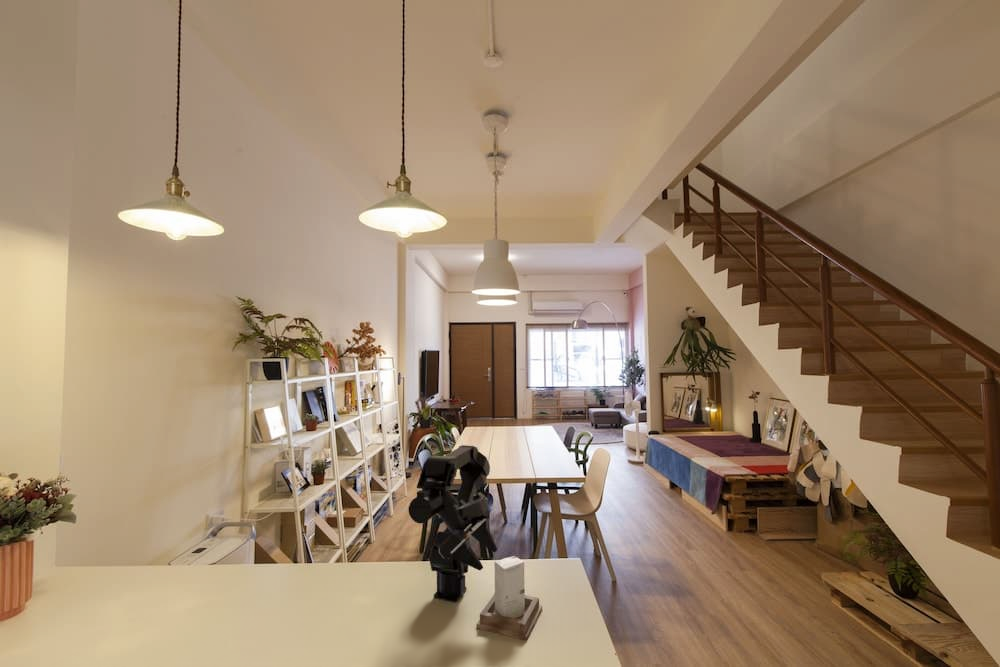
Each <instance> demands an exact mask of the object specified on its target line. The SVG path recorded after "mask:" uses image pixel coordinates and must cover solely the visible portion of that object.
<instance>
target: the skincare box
mask: <svg viewBox="0 0 1000 667" xmlns="http://www.w3.org/2000/svg"><path fill="white" fill-rule="evenodd" d="M494 594H495V614H497V615H501V616H505V617H509V618H514V619H515V618H517V617H520V616H522V615H524V614H525V595H526V594H525V561H524V560H522V559H520V558H519V557H517V556H516V555H513V556H508V557H504V558H502V559H500V560H496V561H494Z"/></svg>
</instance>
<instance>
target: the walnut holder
mask: <svg viewBox="0 0 1000 667" xmlns="http://www.w3.org/2000/svg"><path fill="white" fill-rule="evenodd" d="M542 610H543V605H541V604H540V598H539V597H536V596H532V595H526V594H525V614H524V615H522V616H520V617H517V618H515V619H514V618H509V617H505V616H501V615H497V614H495V593H493V595H492V596H491V598H490V599H489V600H488V602H487V604H485V606H484V607H483V609H482V610H481V612H480V613H479V620H477V623H476V628H477V629H481V630H484V631H489V632H493V633H497V634H500V635H504V636H509V637H513V638H517V639H521V640H525V641H527V640H528V639H529V637H530V635H531V633H532V631H533V628H534V627H535V625H536V622H537V620H538V619H539V617H540V614H541V612H542Z"/></svg>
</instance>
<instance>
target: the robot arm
mask: <svg viewBox="0 0 1000 667" xmlns="http://www.w3.org/2000/svg"><path fill="white" fill-rule="evenodd" d="M458 470H459V471H458ZM457 471H458V472H459V476H460V479H461V483H460V486H459V490H458V493H457V495H456V497H455V495H453V493H452V492H451V490H450V488H451V487H453V484H454V481H455V479H456V477H457ZM490 472H491V465H490V462H489V461H488V457H487V456H486V455H484V454H482V453H481V452H480V451H479V449H478V447H476V446H475V445H465V444H464V445H463V444H461V445H459V446H458V448H456V449H454V450H452V451H450V452H449V453H447V454H445V455H434V456H433V455H432V456H429V457H427V458H426V460H425V461H424V463H423V465H422V468H421V472H420V475H419V478H418V481H417V484H416V488H417V489H420V490H418V491H417V492H416V497H415V498H412V500H411V501H410V503H409V505H408V509H407V510H408V514H409V516H410V518H411V520H412V521H414V522H415V523H417V524H425V523H427V522H428V521H429V520H431V519H432V518H433V517H435V516H436V515H437V516H438V518H439V519H438V520H437V523H438V524H439V525H442V523H443V524H444V525H445V527H446V528H445V529H444V530H443V531H437V533H436V534H435V538H434V540H433V543H432V545H431V547H430V550H429V551H428V552H429V553H428V559H429V564H430V570H431V572H436V591H435V593H434V594H433V598H435V599H439V600H443V599H444V600H443V601H448V602H449V601H450V602H451V603H453V602H454V603H456V602H458V600H459V599H460V598H461V597H462V596H463V594H464V593H465V592H466V591H467V586H466V575H465V574H466V573H469V572H468V571H469V567H471V568H473V569H475V570H478V571H482V569H484V566H483V564H482V562H481V561H480V559H479V558H478V556H477V555H476V553H475V551H474V550H473V548H472V547H471V543H470V542H471V541H470V540H471V539H470V538H471V537H470V536H472V537H473V538H474V539H475V540H476V541H478V542H480V543H481V545H483V546H484V547H485V548H487V549H488V550H490V551H491V552H492V553H496V552H497V551H498V547H497V545H496V543H495V540H494V537H493V535H492V533H491V530H490V527H489V525H490V520H491V517H490V516H489V515H490V514H491V512H490V508H489V505H488V502H489V499H488V498H487V497H486V495H485V494H483V493H482V492H481V491H480V492H477V491H478V490H479V489H480V488H481V487H482V486H483V485H484V484H485V483H486V480H487V478H488V476H489V475H490ZM469 532H472V533H470V536H468V537H467V534H468V533H469Z"/></svg>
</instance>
